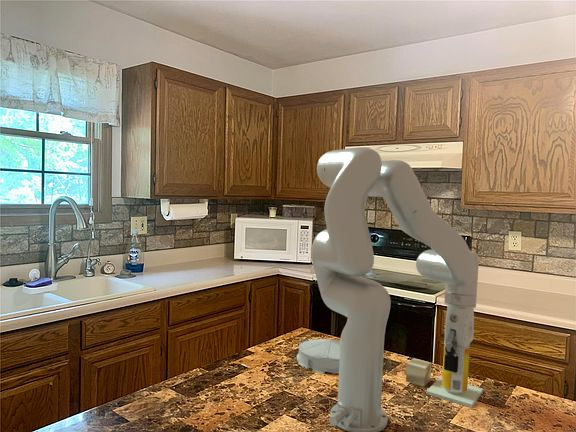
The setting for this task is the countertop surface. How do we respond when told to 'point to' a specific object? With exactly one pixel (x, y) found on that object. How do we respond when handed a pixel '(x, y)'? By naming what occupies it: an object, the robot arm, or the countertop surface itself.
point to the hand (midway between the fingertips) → (456, 365)
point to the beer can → (459, 380)
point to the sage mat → (463, 399)
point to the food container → (320, 355)
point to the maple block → (418, 372)
